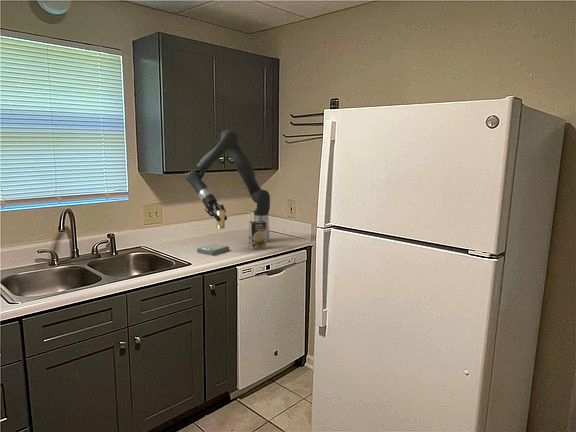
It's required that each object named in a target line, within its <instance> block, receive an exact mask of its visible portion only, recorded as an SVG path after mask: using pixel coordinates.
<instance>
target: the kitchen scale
mask: <svg viewBox="0 0 576 432" xmlns="http://www.w3.org/2000/svg"><path fill="white" fill-rule="evenodd" d="M196 251H197V252H196V253H197V254H202V255H206V256H207V255H208V256H216V255H220V254H222V253H226V252H230V246H229V245H225V244H220V243H210V244H207V245H203V246H200V247H197V249H196Z"/></svg>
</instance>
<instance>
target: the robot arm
mask: <svg viewBox="0 0 576 432" xmlns="http://www.w3.org/2000/svg"><path fill="white" fill-rule="evenodd" d="M238 136H239V135H238V134H237V133H236V132H235V131H234V130H232V129H224V130H223V131H222V132H221V133H220V141H218V143H217V144H216V145H215V146H214V147H213V148H212V149H211V150H209V151H208V152H206V154H204V156H202V158H200V160H199V161H200V162H199V161H198V162H199V163H198V162H197V163H198V164H197V163H196V168H197V167H198V168H199V170H200V173H197V172H196V171H195V169H192V170H191V171H190V172H188V173H186V172H185V173H184V178H185V180H186V181H187V182H188V183H189V184H190V186H192V188H193V189H194V191H195V193H196V194H197V195H198V197H199V199H200V201H201V202H202V203H203V206H204V207H205V208H204V211H205V212H206V213H207V214H208V215H209V216H210V217H211V218H212V217H213V218H214V219H215V220H217V221H218V222H220V220H221V219H220V217H219V216H218V215H217V212H216V210H225V222H226V221H227V219H228V217H227V215H226V212H227V211H226V209H225V207H224V204H222V203H221V204H219V203H218V200H217V198H216V196H214V194H213V192H212V191H211V189H209V187H208V186H207V185H206V183H205V182H204V181H203V180H202V178H203V177H204V176H205V174H206V173H207V171H208V170H209V169H210V168H211V167H212V166H213V165H214V164H215V162H217V160H218V159H219V158H220V157H222V155H223V154H225V152H227V151H228V153H229V155H230V157H231V159H232V161H233V164H234V166H235V169H236V170H237V172H238V173H239V175H240V177H241V179H242V181H243V183H244V184H245V186H246V188H247V190H248V192H249V195H250V198H251V200H252V201H253V202H254V203H255V204H256V208H255V209H254V210H253V221H264V222H266V243H267V242H269V241H270V225H269V222H270V221H269V217H270V216H269V212H270V209H271V208H270V207H271V195H270V193H269V191H268V190H267V189H262V188H261V187H260V186H259V184H258V182H257V180H256V179H257V178H256V172H255V168H254V167H253V165H252V163H251V161H250V160H249V157H248V156H247V155H246V153H244V151H243V150H242V148H241V147H240V144H239V142H238V140H239V138H238Z"/></svg>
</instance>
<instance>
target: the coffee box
mask: <svg viewBox="0 0 576 432" xmlns="http://www.w3.org/2000/svg"><path fill="white" fill-rule="evenodd" d="M248 248H249V249H250V250H251V251H253V250H254V251H255V250H266V249H267V242H266V222H264V221H254V220H253V221H252V220H251V221H248Z"/></svg>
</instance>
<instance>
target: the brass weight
mask: <svg viewBox="0 0 576 432" xmlns="http://www.w3.org/2000/svg"><path fill="white" fill-rule="evenodd" d="M225 210H226V209H225ZM225 210H220V209H219V210H216V212H217V215H218V216H219V217H220V219H221V220H220V222H218V221H217V220H216V219H215V220H216V221H215V222H216V223H215V227H216V229H217V230H218V229H221V230H222V229H225V227H226V224H225V222H226V221H225V215H226V213H225Z"/></svg>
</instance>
